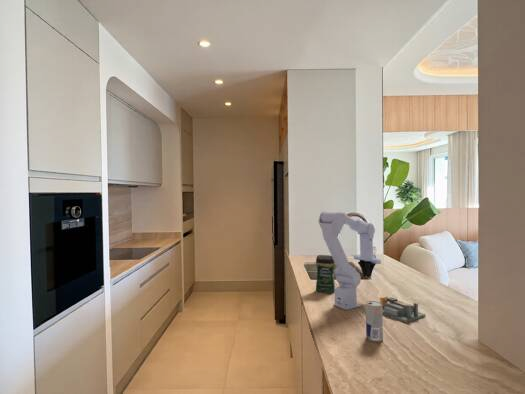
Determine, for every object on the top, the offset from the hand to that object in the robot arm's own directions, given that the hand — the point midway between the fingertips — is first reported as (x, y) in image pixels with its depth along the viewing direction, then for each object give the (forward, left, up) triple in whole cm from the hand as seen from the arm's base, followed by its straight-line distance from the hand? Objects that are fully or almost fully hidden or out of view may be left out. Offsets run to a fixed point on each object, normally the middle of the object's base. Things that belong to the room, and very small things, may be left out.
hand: (367, 276), depth 150 cm
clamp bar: (-5, -21, -7) cm, 22 cm away
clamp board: (-5, -20, -10) cm, 23 cm away
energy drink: (-32, -31, -11) cm, 46 cm away
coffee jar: (-9, +20, -11) cm, 24 cm away
